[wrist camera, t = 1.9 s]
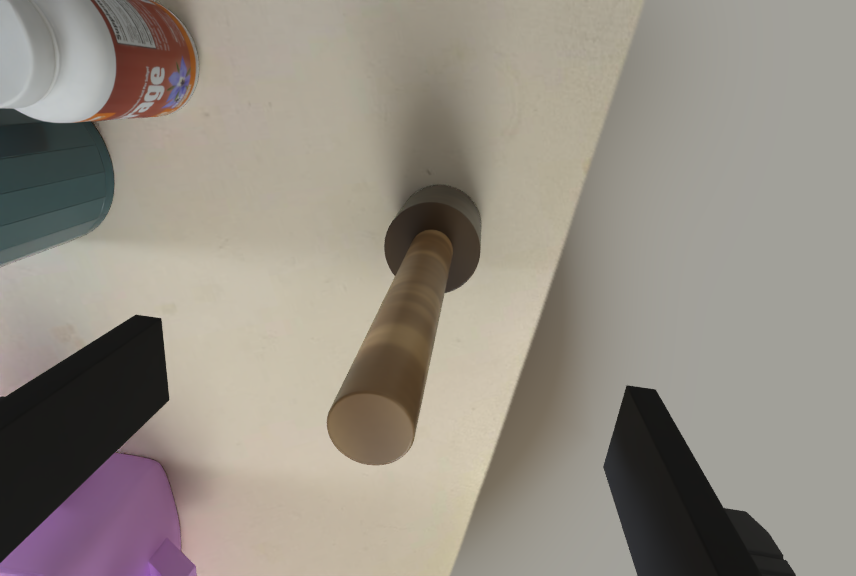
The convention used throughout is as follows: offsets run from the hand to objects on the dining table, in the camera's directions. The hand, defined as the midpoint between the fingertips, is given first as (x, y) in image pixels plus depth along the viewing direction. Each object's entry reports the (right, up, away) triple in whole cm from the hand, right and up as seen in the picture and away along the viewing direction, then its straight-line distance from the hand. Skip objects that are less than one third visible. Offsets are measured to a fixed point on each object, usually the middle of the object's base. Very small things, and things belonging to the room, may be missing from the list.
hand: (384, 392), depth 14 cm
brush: (+2, +7, +17) cm, 18 cm away
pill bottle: (-15, +16, +15) cm, 26 cm away
